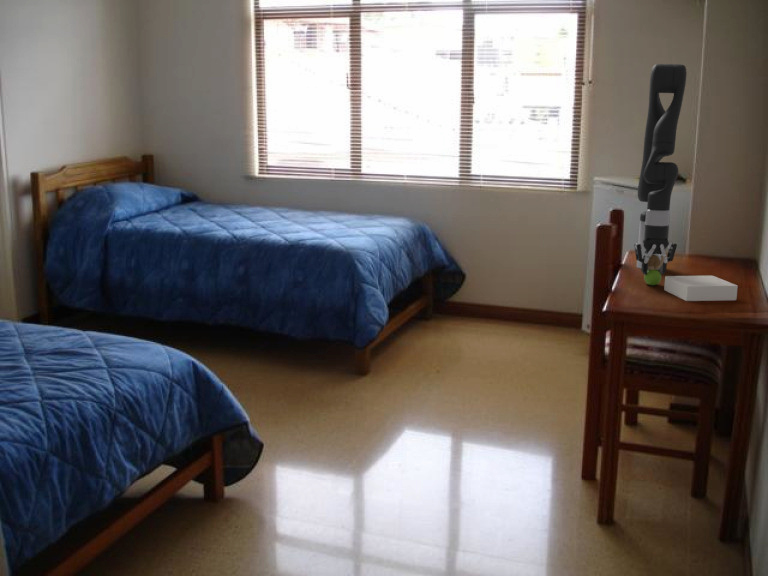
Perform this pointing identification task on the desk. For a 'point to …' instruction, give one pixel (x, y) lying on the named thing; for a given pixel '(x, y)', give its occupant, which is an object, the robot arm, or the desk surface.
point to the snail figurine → (654, 270)
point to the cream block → (700, 288)
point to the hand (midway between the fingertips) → (653, 273)
